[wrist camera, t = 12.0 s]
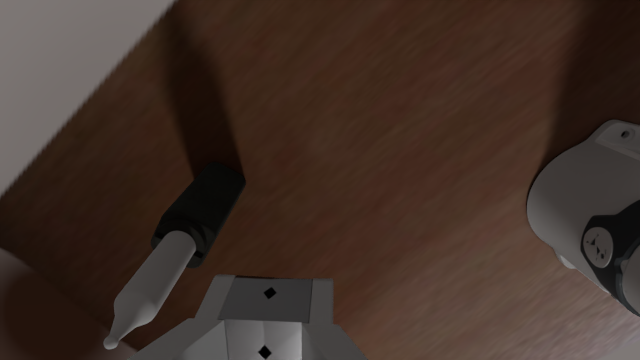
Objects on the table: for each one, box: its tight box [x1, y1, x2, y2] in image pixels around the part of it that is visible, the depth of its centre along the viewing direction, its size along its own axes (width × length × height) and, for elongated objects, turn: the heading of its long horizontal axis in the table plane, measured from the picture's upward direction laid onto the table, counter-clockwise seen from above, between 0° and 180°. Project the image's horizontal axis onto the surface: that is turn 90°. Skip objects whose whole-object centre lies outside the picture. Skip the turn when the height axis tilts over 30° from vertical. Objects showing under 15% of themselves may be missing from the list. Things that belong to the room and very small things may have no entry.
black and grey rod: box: [104, 162, 246, 349], centre depth 35 cm, size 5×5×25 cm
